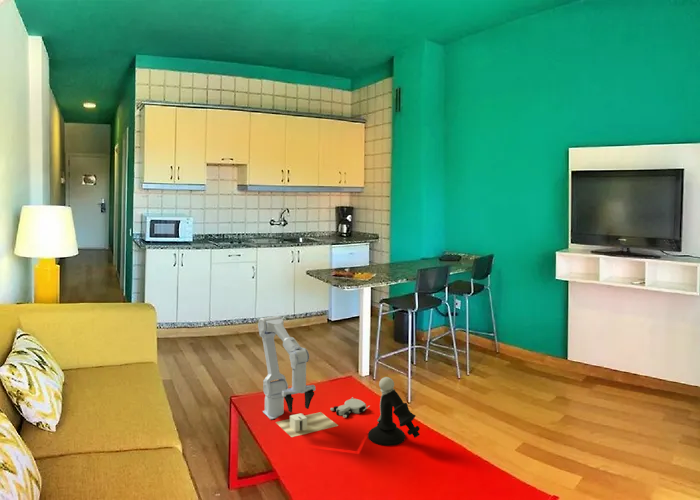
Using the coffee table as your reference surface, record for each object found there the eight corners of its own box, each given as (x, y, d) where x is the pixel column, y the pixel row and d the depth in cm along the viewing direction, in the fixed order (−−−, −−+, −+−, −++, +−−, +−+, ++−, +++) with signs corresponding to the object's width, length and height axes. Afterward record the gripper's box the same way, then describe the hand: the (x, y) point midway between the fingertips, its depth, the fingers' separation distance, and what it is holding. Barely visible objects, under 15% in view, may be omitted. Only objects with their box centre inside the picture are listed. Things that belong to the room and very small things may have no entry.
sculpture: (384, 425, 225) (386, 369, 222) (429, 444, 209) (432, 383, 206) (360, 436, 214) (361, 377, 211) (406, 457, 198) (408, 393, 195)
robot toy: (345, 424, 228) (371, 413, 237) (344, 414, 227) (370, 403, 237) (328, 414, 237) (354, 404, 247) (328, 405, 237) (353, 395, 246)
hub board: (275, 424, 224) (275, 414, 223) (320, 414, 235) (320, 404, 235) (291, 439, 210) (291, 428, 210) (338, 427, 222) (338, 417, 221)
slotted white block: (289, 427, 219) (289, 415, 219) (301, 424, 222) (301, 412, 222) (295, 432, 215) (295, 420, 214) (307, 429, 218) (307, 417, 217)
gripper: (287, 384, 209) (286, 416, 211) (319, 378, 217) (318, 409, 218) (279, 378, 215) (279, 410, 217) (311, 373, 223) (310, 403, 224)
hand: (298, 409), depth 218 cm, fingers open, 7 cm apart
